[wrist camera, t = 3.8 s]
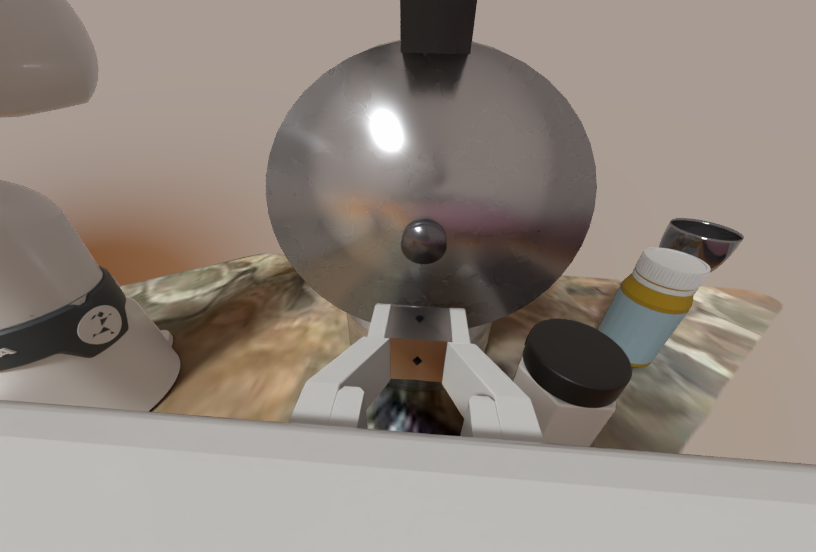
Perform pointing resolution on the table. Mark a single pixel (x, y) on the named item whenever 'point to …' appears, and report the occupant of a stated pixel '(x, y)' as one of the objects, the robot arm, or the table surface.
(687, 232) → the wine glass
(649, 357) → the bottle
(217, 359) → the table surface
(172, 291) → the table surface
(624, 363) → the jar
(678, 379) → the table surface
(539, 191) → the lid
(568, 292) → the table surface
